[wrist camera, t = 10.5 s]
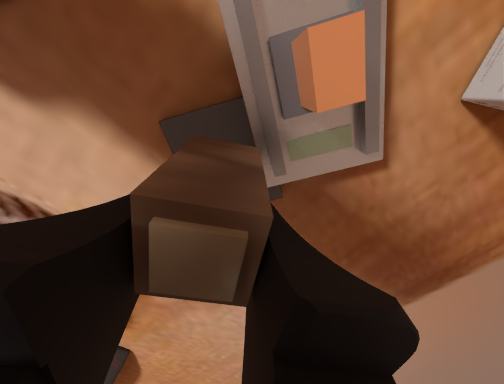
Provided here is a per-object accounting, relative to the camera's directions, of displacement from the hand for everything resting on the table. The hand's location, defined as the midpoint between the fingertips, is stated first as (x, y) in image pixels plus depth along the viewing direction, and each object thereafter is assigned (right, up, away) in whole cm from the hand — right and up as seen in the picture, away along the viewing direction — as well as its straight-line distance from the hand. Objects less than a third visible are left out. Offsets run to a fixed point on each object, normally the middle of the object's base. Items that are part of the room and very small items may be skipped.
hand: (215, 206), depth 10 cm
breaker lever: (+5, +7, +1) cm, 9 cm away
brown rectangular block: (0, +2, +2) cm, 3 cm away
